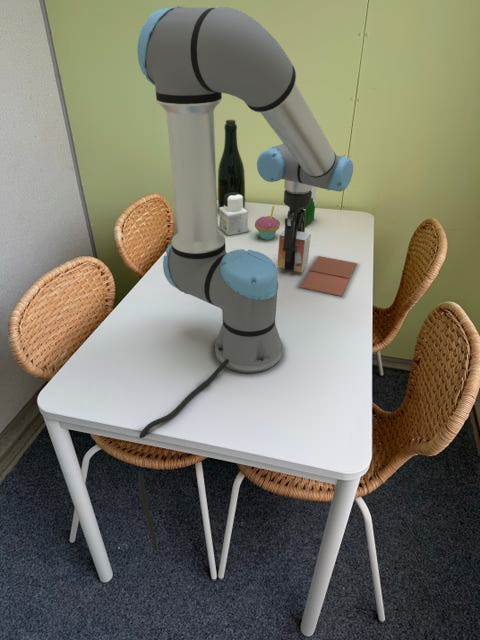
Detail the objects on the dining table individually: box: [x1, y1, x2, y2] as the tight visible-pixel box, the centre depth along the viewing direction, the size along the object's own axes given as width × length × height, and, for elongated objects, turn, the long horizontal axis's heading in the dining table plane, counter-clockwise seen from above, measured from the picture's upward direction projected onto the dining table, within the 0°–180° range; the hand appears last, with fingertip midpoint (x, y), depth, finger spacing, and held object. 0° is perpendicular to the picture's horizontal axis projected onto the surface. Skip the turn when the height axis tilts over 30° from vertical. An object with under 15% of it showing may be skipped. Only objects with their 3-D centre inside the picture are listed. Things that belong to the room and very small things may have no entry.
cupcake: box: [254, 204, 281, 241], centre depth 149 cm, size 9×8×12 cm
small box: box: [276, 229, 312, 273], centre depth 130 cm, size 8×6×10 cm
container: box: [218, 192, 249, 236], centre depth 153 cm, size 8×8×13 cm
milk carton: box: [288, 186, 318, 228], centre depth 157 cm, size 9×9×20 cm
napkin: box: [299, 255, 357, 297], centre depth 130 cm, size 20×12×1 cm, turn 157°
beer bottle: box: [217, 119, 246, 211], centre depth 162 cm, size 10×10×33 cm
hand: (292, 265), depth 133 cm, fingers closed on small box, 6 cm apart
